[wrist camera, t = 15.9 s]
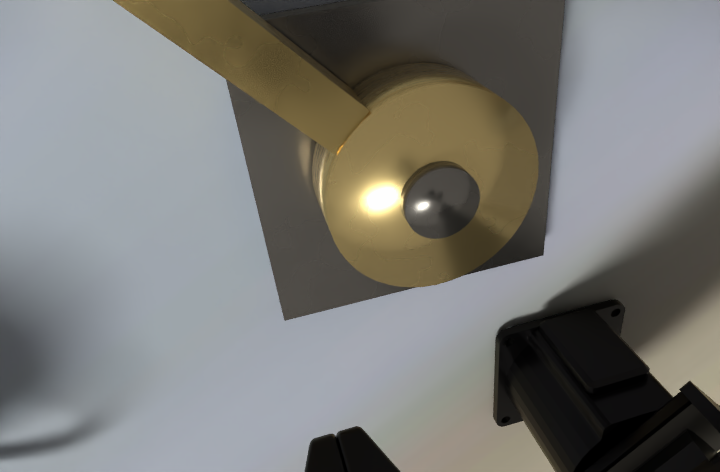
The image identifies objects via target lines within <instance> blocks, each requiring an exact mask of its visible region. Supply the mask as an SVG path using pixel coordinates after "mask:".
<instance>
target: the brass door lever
mask: <svg viewBox="0 0 720 472" xmlns="http://www.w3.org/2000/svg"><path fill="white" fill-rule="evenodd" d="M113 1H114V2H116V3H117V4H119V5H120V6H122V7H123V8H125V9H126V10H127V11H129V12H130V13H132V14H133V15H135V16H136V17H137V18H139V19H140V20H142V21H143V22H145V23H146V24H148V25H149V26H150V27H152V28H153V29H155V30H156V31H158V32H159V33H160V34H162V35H163V36H165V37H166V38H168V39H169V40H171V41H172V42H173V43H175V44H176V45H178V46H179V47H181V48H182V49H183V50H185V51H186V52H188V53H189V54H191V55H192V56H194V57H195V58H196V59H198V60H199V61H201V62H202V63H204V64H205V65H207V66H208V67H209V68H211V69H212V70H214V71H215V72H217V73H218V74H219V75H221V76H222V77H224V78H225V79H227V80H228V81H230V82H231V83H232V84H234V85H235V86H237V87H238V88H240V89H241V90H242V91H244V92H245V93H247V94H248V95H250V96H251V97H253V98H254V99H255V100H257V101H258V102H260V103H261V104H263V105H264V106H266V107H267V108H268V109H270V110H271V111H273V112H274V113H276V114H277V115H278V116H280V117H281V118H283V119H284V120H286V121H287V122H289V123H290V124H291V125H293V126H294V127H296V128H297V129H299V130H300V131H301V132H303V133H304V134H306V135H307V136H309V137H310V138H312V139H313V140H314V141H316V145H315V149H314V154H313V161H312V181H313V186H314V191H315V195H316V198H317V200H318V203H319V206H320V208H321V210H322V213H323V215H324V218H325V220H326V223H327V225H328V228H329V230H330V232H331V235H332V237H333V240H334V242H335V244H336V246H337V247H338V249H339V251H340V253H341V254H342V255H343V256H344V258H345V259H346V260H347V261H348V262H349V263H350V264H351V265H352V266H353V267H354V268H355V269H356V270H358V271H359V272H361V273H362V274H364V275H365V276H367V277H369V278H371V279H373V280H376V281H378V282H381V283H385V284H388V285H393V286H399V287H425V286H431V285H437V284H440V283H444V282H447V281H450V280H453V279H455V278H458V277H461V276H463V275H465V274H467V273H469V272H470V271H472V270H474V269H476V268H477V267H479V266H480V265H482V264H483V263H485V262H486V261H487V260H489V259H490V258H491V257H493V256H494V255H495V254H496V253H497V252H498V251H499V250H500V249H501V248H502V247H503V246H504V245H505V244H506V243H507V242H508V241H509V240H510V239H511V237H512V236H513V235H514V233H515V232H516V231H517V229H518V228H519V226H520V225H521V223H522V221H523V220H524V218H525V216H526V214H527V212H528V210H529V208H530V205H531V203H532V200H533V197H534V194H535V190H536V186H537V180H538V167H539V162H538V152H537V148H536V143H535V139H534V137H533V135H532V132H531V130H530V128H529V126H528V124H527V123H526V121H525V120H524V118H523V117H522V116H521V115H520V113H519V112H518V111H517V110H516V109H515V108H514V107H513V106H512V105H510V104H509V103H508V102H507V101H505V100H504V99H502V98H501V97H500V96H498V95H497V94H495V93H494V92H492V91H491V90H489V89H488V88H486V87H485V86H483V85H482V84H480V83H479V82H477V81H476V80H475V79H473V78H472V77H470V76H468V75H467V74H465V73H463V72H461V71H460V70H457V69H454V68H452V67H449V66H445V65H441V64H436V63H409V64H404V65H399V66H395V67H392V68H389V69H386V70H383V71H381V72H379V73H377V74H375V75H373V76H371V77H369V78H367V79H366V80H364V81H363V82H361V83H360V84H358V85H357V86H355V87H354V88H353V89H351V88H350V87H349V86H347V85H346V84H345V83H344V82H342V81H341V80H340V79H339V78H337V77H336V76H335V75H333V74H332V73H331V72H330V71H328V70H327V69H326V68H325V67H323V66H322V65H321V64H319V63H318V62H317V61H316V60H314V59H313V58H312V57H311V56H309V55H308V54H307V53H306V52H304V51H303V50H302V49H300V48H299V47H298V46H297V45H295V44H294V43H293V42H292V41H290V40H289V39H288V38H286V37H285V36H284V35H283V34H281V33H280V32H279V31H278V30H276V29H275V28H274V27H273V26H271V25H270V24H269V23H267V22H266V21H265V20H264V19H262V18H261V17H260V16H259V15H257V14H256V13H255V12H254V11H252V10H251V9H250V8H248V7H247V6H246V5H245V4H243V3H242V2H241V1H240V0H113Z"/></svg>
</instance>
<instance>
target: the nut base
mask: <svg viewBox="0 0 720 472" xmlns="http://www.w3.org/2000/svg"><path fill="white" fill-rule="evenodd" d="M564 5H565V0H347V1H341V2H335V3H329V4H323V5H317V6H311V7H305V8H299V9H293V10H287V11H282V12H276V13H270V14H264V15H259V16H260V17H261V18H262V19H264V20H265V21H266V22H267V23H269V24H270V25H271V26H273V27H274V28H275V29H276V30H278V31H279V32H280V33H281V34H283V35H284V36H285V37H286V38H288V39H289V40H290V41H292V42H293V43H294V44H295V45H297V46H298V47H299V48H300V49H302V50H303V51H304V52H306V53H307V54H308V55H309V56H311V57H312V58H313V59H314V60H316V61H317V62H318V63H319V64H321V65H322V66H323V67H325V68H326V69H327V70H328V71H330V72H331V73H332V74H333V75H335V76H336V77H337V78H339V79H340V80H341V81H342V82H344V83H345V84H346V85H347V86H349V87H350V88H351V89H353V88H354V87H355V86H357V85H358V84H360V83H361V82H363V81H364V80H366V79H367V78H369V77H371V76H373V75H375V74H377V73H379V72H381V71H383V70H386V69H389V68H392V67H395V66H399V65H404V64H409V63H436V64H441V65H445V66H449V67H452V68H454V69H457V70H460V71H461V72H463V73H465V74H467V75H468V76H470V77H472V78H473V79H475V80H476V81H477V82H479V83H480V84H482V85H483V86H485V87H486V88H488V89H489V90H491V91H492V92H494V93H495V94H497V95H498V96H500V97H501V98H502V99H504V100H505V101H507V102H508V103H509V104H510V105H512V106H513V107H514V108H515V109H516V110H517V111H518V112H519V113H520V115H521V116H522V117H523V118H524V120H525V121H526V123H527V124H528V126H529V128H530V130H531V132H532V135H533V137H534V139H535V143H536V148H537V152H538V162H539V167H538V180H537V186H536V190H535V194H534V197H533V200H532V203H531V205H530V208H529V210H528V212H527V214H526V216H525V218H524V220H523V221H522V223H521V225H520V226H519V228H518V229H517V231H516V232H515V233H514V235H513V236H512V237H511V239H510V240H509V241H508V242H507V243H506V244H505V245H504V246H503V247H502V248H501V249H500V250H499V251H498V252H497V253H496V254H495V255H494V256H493V257H491V258H490V259H489V260H487V261H486V262H485V263H483V264H482V265H480V266H479V267H477V268H476V269H474V270H472V271H470V272H469V273H467V274H471V273H475V272H479V271H483V270H487V269H490V268H494V267H498V266H502V265H506V264H510V263H514V262H518V261H522V260H526V259H530V258H534V257H538V256H542V255H543V253H544V241H545V230H546V218H547V206H548V194H549V182H550V170H551V159H552V147H553V135H554V123H555V111H556V99H557V87H558V76H559V64H560V52H561V40H562V28H563V16H564ZM226 81H227V85H228V89H229V93H230V97H231V101H232V105H233V110H234V114H235V118H236V122H237V126H238V130H239V134H240V138H241V143H242V147H243V151H244V155H245V159H246V163H247V167H248V172H249V176H250V180H251V184H252V188H253V192H254V196H255V200H256V205H257V209H258V213H259V217H260V221H261V225H262V229H263V233H264V238H265V242H266V246H267V250H268V254H269V258H270V262H271V266H272V271H273V275H274V279H275V283H276V287H277V291H278V295H279V299H280V304H281V308H282V312H283V316H284V320H289V319H293V318H297V317H301V316H305V315H309V314H313V313H317V312H321V311H325V310H329V309H333V308H337V307H340V306H344V305H348V304H352V303H356V302H360V301H364V300H368V299H372V298H376V297H380V296H384V295H388V294H392V293H396V292H400V291H404V290H408V289H412V288H415V287H399V286H393V285H388V284H385V283H381V282H378V281H376V280H373V279H371V278H369V277H367V276H365V275H364V274H362V273H361V272H359V271H358V270H356V269H355V268H354V267H353V266H352V265H351V264H350V263H349V262H348V261H347V260H346V259H345V258H344V256H343V255H342V254H341V253H340V251H339V249H338V247H337V246H336V244H335V242H334V240H333V237H332V235H331V232H330V230H329V228H328V225H327V223H326V220H325V218H324V215H323V213H322V210H321V208H320V206H319V203H318V200H317V198H316V195H315V191H314V186H313V181H312V161H313V154H314V149H315V145H316V141H314V140H313V139H312V138H310V137H309V136H307V135H306V134H304V133H303V132H301V131H300V130H299V129H297V128H296V127H294V126H293V125H291V124H290V123H289V122H287V121H286V120H284V119H283V118H281V117H280V116H278V115H277V114H276V113H274V112H273V111H271V110H270V109H268V108H267V107H266V106H264V105H263V104H261V103H260V102H258V101H257V100H255V99H254V98H253V97H251V96H250V95H248V94H247V93H245V92H244V91H242V90H241V89H240V88H238V87H237V86H235V85H234V84H232V83H231V82H230V81H228V80H227V79H226ZM467 274H465V275H467Z"/></svg>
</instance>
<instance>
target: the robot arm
mask: <svg viewBox="0 0 720 472" xmlns="http://www.w3.org/2000/svg"><path fill="white" fill-rule="evenodd" d="M624 312H625V307H624V306H623V305H622V304H621V303H620V302H619V301H618V300H609V301H606V302H602V303H598V304H595V305H591V306H587V307H584V308H580V309H576V310H573V311H569V312H565V313H562V314H558V315H554V316H551V317H547V318H543V319H540V320H536V321H532V322H529V323H525V324H521V325H518V326H514V327H510V328H507V329H504V330H502V331H501V332H499V333H498V335H497V336H496V342H495V375H494V408H493V417H494V420H495V422H496V423H497V425H498V426H507V425H510V424H514V423H517V422H520V421H524V422H525V424H526V426H527V427H528V429H529V430H530V432H531V434H532V435H533V437H534V438H535V440H536V442H537V443H538V445H539V446H540V448H541V449H542V451H543V453H544V454H545V456H546V457H547V459H548V461H549V462H550V464H551V465H552V467H553V469H554V470H555V472H720V451H719V450H720V406H719V405H718V404H716V403H715V402H714V401H713V400H712V399H711V398H709V397H708V396H707V395H706V394H705V393H704V392H702V391H701V390H700V389H699V388H698V387H697V386H696V385H694V384H693V383H692V382H691V381H689V382H688V383H686V384H685V385H684V386H683V387H682V388H680V389H679V390H680V391H681V392H679V393H678V394H677V395H676V396H674V397H673V396H672V395H671V394H670V393H669V392H668V391H667V390H666V389H665V388H664V387H663V386H662V385H661V384H660V383H659V381H658V380H657V379H656V378H655V377H654V376H653V375H652V374H651V373H650V372H649V370H650V369H649V367H648V366H647V365H646V364H645V362H644V361H643V360H642V359H641V358H640V357H639V356H638V355H637V354H636V353H635V352H634V351H633V350H632V349H631V348H630V347H629V346H628V345H627V344H626V343H625V342H624V341H623V339H622V338H621V337H620V333H621V328H622V323H623V318H624ZM507 339H508V340H507ZM718 451H719V452H718ZM717 452H718V453H717ZM305 472H400V471H399V470H398V468H397V467H396V466H395V465H394V464H393V463H392V462H391V460H390V459H389V458H388V457H387V456H386V455H385V454H384V453H383V451H382V450H381V449H380V448H379V447H378V446H377V445H376V443H375V442H374V441H373V440H372V439H371V438H370V437H369V436H368V434H367V433H366V432H365V431H364V430H363V429H362V428H361V427H358V426H356V427H352V428H349V429H345V430H342V431H339V432H338V433H337V435H336V436H335V435H334V434H328V435H324V436H321V437H318V438H314V439H313V440H312V441H311V442H310V445H309V450H308V456H307V461H306V467H305Z"/></svg>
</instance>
